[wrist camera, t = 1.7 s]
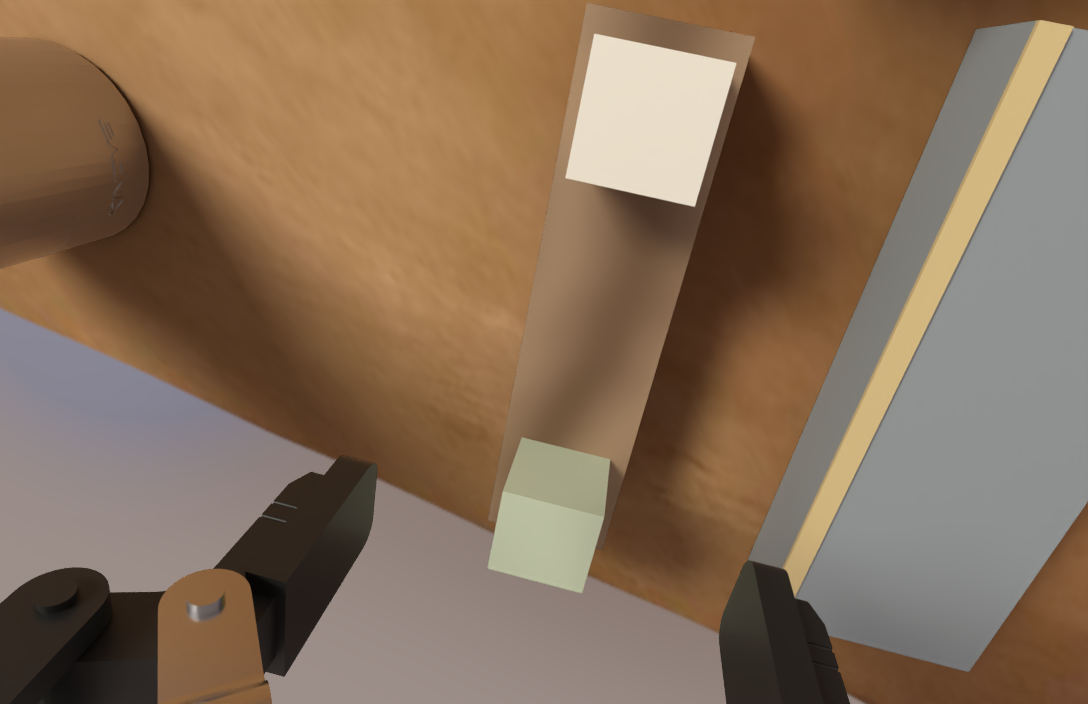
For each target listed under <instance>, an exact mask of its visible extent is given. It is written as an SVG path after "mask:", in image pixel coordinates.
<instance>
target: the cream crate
mask: <svg viewBox="0 0 1088 704" xmlns="http://www.w3.org/2000/svg"><path fill="white" fill-rule="evenodd" d="M736 64H737V63H734V62H729V61H725V60H720V59H715V58H710V57H705V56H700V55H696V54H691V53H686V52H681V51H676V50H671V49H667V48H662V47H657V46H652V45H647V44H642V43H638V42H633V41H628V40H623V39H618V38H613V37H609V36H604V35H599V34H594V37H593V42H592V47H591V52H590V57H589V62H588V67H587V72H586V77H585V82H584V87H583V92H582V97H581V102H580V107H579V112H578V117H577V122H576V127H575V132H574V137H573V142H572V147H571V152H570V157H569V162H568V167H567V172H566V177H565V178H567V179H572V180H576V181H581V182H585V183H590V184H594V185H599V186H603V187H608V188H612V189H617V190H621V191H626V192H630V193H635V194H639V195H644V196H648V197H653V198H657V199H662V200H666V201H671V202H675V203H680V204H684V205H689V206H693V207H695V204H696V201H697V197H698V194H699V191H700V187H701V184H702V180H703V177H704V173H705V170H706V167H707V163H708V160H709V156H710V153H711V149H712V146H713V142H714V139H715V136H716V132H717V129H718V125H719V122H720V118H721V115H722V112H723V108H724V105H725V101H726V98H727V94H728V91H729V88H730V84H731V81H732V77H733V74H734V70H735V67H736Z"/></svg>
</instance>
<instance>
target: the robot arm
mask: <svg viewBox="0 0 1088 704" xmlns="http://www.w3.org/2000/svg"><path fill="white" fill-rule="evenodd" d="M148 186H149V162H148V156H147V150H146V145H145V142H144V139H143V136H142V133H141V130H140V127H139V125H138V122H137V120H136V118H135V117H134V115H133V113H132V111H131V109H130V107H129V105H128V104H127V102H126V100H125V99H124V98H123V96H122V95H121V94H120V92H119V91H118V90H117V88H116V87H115V86H114V84H113V83H112V82H111V81H110V80H109V79H108V78H107V77H106V76H105V75H104V74H103V73H102V72H101V71H100V70H99V69H98V68H97V67H96V66H95V65H93V64H92V63H90V62H89V61H88V60H86V59H85V58H83V57H82V56H80V55H79V54H77V53H76V52H74V51H72V50H70V49H68V48H65V47H63V46H61V45H59V44H56V43H53V42H48V41H43V40H39V39H30V38H14V37H0V269H2V268H5V267H8V266H12V265H15V264H19V263H22V262H25V261H29V260H32V259H35V258H40V257H43V256H46V255H50V254H53V253H57V252H60V251H63V250H67V249H70V248H73V247H77V246H80V245H83V244H87V243H90V242H94V241H97V240H100V239H104V238H107V237H110V236H113V235H115V234H117V233H119V232H120V231H122V230H124V229H126V228H127V227H128V226H129V225H130V224H131V223H132V222H133V221H134V220H135V219H136V218H137V216H138V214H139V212H140V210H141V208H142V206H143V205H144V203H145V198H146V194H147V190H148ZM376 479H377V465H376V464H375V463H372V462H368V461H364V460H360V459H357V458H353V457H349V456H345V455H342V456H340V457H339V458H338V459H337V460H336V461H335V463H334V464H333V465H332V466H331V468H330V469H329V470H328V471H327V472H326V474H325V475H321V474H317V473H313V472H310V473H308V474H306V475H304V476H302V477H301V478H299V479H297V480H295V481H293V482H291V483H290V484H288V485H287V487H286V488H285V489H284V490H283V491H282V492H281V493H280V495H279V496H278V497H277V498H276V499H275V500H274V503H273V504H271V505H270V506H269V507H268V508H267V509H266V510H265V511H264V512H263V514H262V517H259V518H258V519H257V520H256V521H255V523H254V524H253V525H252V526H251V527H250V528H249V529H248V530H247V532H246V533H245V534H244V535H243V536H242V537H241V538H240V540H239V541H238V542H237V543H236V544H235V545H234V546H233V547H232V548H231V550H230V551H229V552H228V553H227V554H226V555H225V556H224V557H223V559H222V560H221V561H220V562H219V563H218V564H217V565H216V566H215V567H214V568H213V569H208V570H202V571H198V572H195V573H192V574H190V575H187V576H185V577H183V578H182V579H180V580H178V581H177V582H175V583H174V584H173V585H172V586H171V587H170V588H168V589H167V591H163V592H126V593H125V592H121V593H120V592H119V593H118V592H117V593H110V590H109V584H108V581H107V579H106V578H105V577H104V576H103V575H102V574H101V573H99V572H97V571H95V570H92V569H88V568H64V569H60V570H55V571H51V572H48V573H45V574H43V575H40V576H38V577H36V578H34V579H32V580H30V581H28V582H27V583H25V584H23V585H22V586H20V587H19V588H18V589H17V590H15V591H14V592H13V593H12V594H11V595H9V596H8V598H6V599H5V600H4V601H3V602H2V603H0V704H272V700H271V694H270V689H269V684H268V681H267V680H266V681H265V679H264V674H265V672H269V673H273V674H277V675H280V676H283V677H284V676H285V675H286V673H287V672H288V670H289V668H290V667H291V665H292V663H293V662H294V660H295V659H296V657H297V655H298V654H299V652H300V650H301V649H302V647H303V645H304V644H305V642H306V641H307V639H308V637H309V636H310V634H311V632H312V631H313V629H314V628H315V626H316V624H317V623H318V621H319V619H320V618H321V616H322V614H323V613H324V611H325V609H326V608H327V606H328V605H329V603H330V601H331V600H332V598H333V596H334V595H335V593H336V592H337V590H338V588H339V587H340V585H341V583H342V582H343V580H344V578H345V577H346V575H347V573H348V572H349V570H350V569H351V567H352V565H353V563H354V562H355V561H356V559H357V557H358V555H359V554H360V552H361V550H362V549H363V547H364V545H365V543H366V541H367V539H368V536H369V533H370V529H371V526H372V521H373V512H374V500H375V490H376ZM719 645H720V653H721V662H722V670H723V679H724V687H725V695H726V703H727V704H850V702H849V699H848V696H847V693H846V690H845V686H844V683H843V680H842V677H841V674H840V672H838V668H839V667H838V664H837V661H836V658H835V655H834V653H833V652H832V645H831V642H830V639H829V636H828V633H827V630H826V626H825V624H824V623H823V621H822V620H821V619H820V617H819V616H818V614H817V613H816V612H815V610H814V609H813V608H812V606H811V605H810V603H809V602H808V601H804V600H800V599H796V598H795V597H794V593H793V590H792V586H791V583H790V579H789V575H788V573H787V571H786V570H785V569H782V568H778V567H774V566H770V565H766V564H762V563H759V562H755V561H751V560H748V561H746V563H745V564H744V566H743V568H742V570H741V572H740V575H739V577H738V579H737V582H736V584H735V586H734V589H733V591H732V593H731V596H730V598H729V600H728V603H727V605H726V607H725V610H724V612H723V616H722V619H721V624H720V632H719Z"/></svg>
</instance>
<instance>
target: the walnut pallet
mask: <svg viewBox="0 0 1088 704" xmlns="http://www.w3.org/2000/svg"><path fill="white" fill-rule="evenodd" d="M594 34H599V35H604V36H609V37H613V38H618V39H623V40H628V41H633V42H638V43H642V44H647V45H652V46H657V47H662V48H667V49H671V50H676V51H681V52H686V53H691V54H696V55H700V56H705V57H710V58H715V59H720V60H725V61H729V62H734V63H737V64H736V67H735V70H734V74H733V77H732V81H731V84H730V88H729V91H728V94H727V98H726V101H725V105H724V108H723V112H722V115H721V118H720V122H719V125H718V129H717V132H716V136H715V139H714V142H713V146H712V149H711V153H710V156H709V160H708V163H707V167H706V170H705V173H704V177H703V180H702V184H701V187H700V191H699V194H698V197H697V201H696V204H695V207H693V206H689V205H684V204H680V203H675V202H671V201H666V200H662V199H657V198H653V197H648V196H644V195H639V194H635V193H630V192H626V191H621V190H617V189H612V188H608V187H603V186H599V185H594V184H590V183H585V182H581V181H576V180H572V179H567V178H565V177H566V172H567V167H568V162H569V157H570V152H571V147H572V142H573V137H574V132H575V127H576V122H577V117H578V112H579V107H580V102H581V97H582V92H583V87H584V82H585V77H586V72H587V67H588V62H589V57H590V52H591V47H592V42H593V37H594ZM754 40H755V37H752V36H747V35H743V34H738V33H733V32H728V31H723V30H718V29H713V28H708V27H703V26H698V25H694V24H689V23H684V22H679V21H674V20H669V19H664V18H659V17H654V16H649V15H644V14H640V13H635V12H630V11H625V10H620V9H615V8H610V7H605V6H600V5H595V4H591V3H587V5H586V10H585V15H584V21H583V26H582V31H581V36H580V41H579V47H578V52H577V57H576V62H575V67H574V73H573V78H572V83H571V88H570V94H569V99H568V104H567V109H566V114H565V120H564V125H563V130H562V135H561V140H560V146H559V151H558V156H557V161H556V167H555V172H554V177H553V182H552V187H551V193H550V198H549V203H548V208H547V213H546V219H545V224H544V229H543V234H542V239H541V245H540V250H539V255H538V260H537V266H536V271H535V276H534V281H533V286H532V292H531V297H530V302H529V307H528V312H527V318H526V323H525V328H524V333H523V339H522V344H521V349H520V354H519V359H518V365H517V370H516V375H515V380H514V385H513V391H512V396H511V401H510V406H509V412H508V417H507V422H506V427H505V432H504V438H503V443H502V448H501V453H500V458H499V464H498V469H497V474H496V479H495V485H494V490H493V495H492V500H491V505H490V511H489V516H488V521H492V522H495V523H497V518H498V513H499V508H500V503H501V498H502V493H503V489H504V486H505V484H506V481H507V478H508V475H509V472H510V469H511V467H512V464H513V461H514V458H515V455H516V453H517V450H518V447H519V444H520V441H521V438H522V437H523V438H527V439H531V440H535V441H539V442H543V443H547V444H551V445H555V446H559V447H563V448H567V449H571V450H575V451H579V452H583V453H587V454H591V455H595V456H599V457H603V458H607V459H610V466H609V476H608V486H607V496H606V505H605V515H604V520H603V523H602V527H601V530H600V534H599V537H598V540H597V544H596V547H595V548H596V549H600V550H603V546H604V543H605V539H606V536H607V533H608V529H609V526H610V523H611V519H612V516H613V513H614V509H615V506H616V503H617V499H618V496H619V493H620V489H621V486H622V482H623V479H624V476H625V472H626V469H627V466H628V462H629V459H630V456H631V452H632V449H633V446H634V442H635V439H636V436H637V432H638V429H639V425H640V422H641V419H642V415H643V412H644V409H645V405H646V402H647V399H648V395H649V392H650V389H651V385H652V382H653V379H654V375H655V372H656V368H657V365H658V362H659V358H660V355H661V352H662V348H663V345H664V342H665V338H666V335H667V332H668V328H669V325H670V322H671V318H672V315H673V311H674V308H675V305H676V301H677V298H678V295H679V291H680V288H681V285H682V281H683V278H684V275H685V271H686V268H687V265H688V261H689V258H690V254H691V251H692V248H693V244H694V241H695V238H696V234H697V231H698V228H699V224H700V221H701V218H702V214H703V211H704V208H705V204H706V201H707V197H708V194H709V191H710V187H711V184H712V181H713V177H714V174H715V171H716V167H717V164H718V161H719V157H720V154H721V151H722V147H723V144H724V141H725V137H726V134H727V130H728V127H729V124H730V120H731V117H732V114H733V110H734V107H735V104H736V100H737V97H738V94H739V90H740V87H741V84H742V80H743V77H744V73H745V70H746V67H747V63H748V60H749V57H750V53H751V50H752V47H753V43H754Z"/></svg>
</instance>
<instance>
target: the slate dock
mask: <svg viewBox="0 0 1088 704" xmlns="http://www.w3.org/2000/svg"><path fill="white" fill-rule="evenodd" d="M1073 27H1074V26H1068V25H1063V24H1058V23H1053V22H1048V21H1043V20H1037V21H1030V22H1023V23H1016V24H1009V25H1003V26H996V27H989V28H982V29H976V31H975V33H974V35H973V38H972V40H971V42H970V45H969V47H968V49H967V52H966V54H965V56H964V59H963V61H962V63H961V66H960V68H959V70H958V73H957V75H956V77H955V80H954V82H953V84H952V86H951V89H950V91H949V93H948V96H947V98H946V100H945V103H944V105H943V107H942V110H941V112H940V114H939V117H938V119H937V121H936V124H935V126H934V128H933V131H932V133H931V135H930V138H929V140H928V142H927V145H926V147H925V149H924V152H923V154H922V156H921V158H920V161H919V163H918V165H917V168H916V170H915V172H914V175H913V177H912V179H911V182H910V184H909V186H908V189H907V191H906V193H905V196H904V198H903V200H902V203H901V205H900V207H899V210H898V212H897V214H896V217H895V219H894V221H893V224H892V226H891V228H890V230H889V233H888V235H887V237H886V240H885V242H884V244H883V247H882V249H881V251H880V254H879V256H878V258H877V261H876V263H875V265H874V268H873V270H872V272H871V275H870V277H869V279H868V282H867V284H866V286H865V289H864V291H863V293H862V296H861V298H860V300H859V302H858V305H857V307H856V309H855V312H854V314H853V316H852V319H851V321H850V323H849V326H848V328H847V330H846V333H845V335H844V337H843V340H842V342H841V344H840V347H839V349H838V351H837V354H836V356H835V358H834V361H833V363H832V365H831V368H830V370H829V372H828V374H827V377H826V379H825V381H824V384H823V386H822V388H821V391H820V393H819V395H818V398H817V400H816V402H815V405H814V407H813V409H812V412H811V414H810V416H809V419H808V421H807V423H806V426H805V428H804V430H803V433H802V435H801V437H800V440H799V442H798V444H797V446H796V449H795V451H794V453H793V456H792V458H791V460H790V463H789V465H788V467H787V470H786V472H785V474H784V477H783V479H782V481H781V484H780V486H779V488H778V491H777V493H776V495H775V498H774V500H773V502H772V505H771V507H770V509H769V512H768V514H767V516H766V518H765V521H764V523H763V525H762V528H761V530H760V532H759V535H758V537H757V539H756V542H755V544H754V546H753V549H752V551H751V553H750V556H749V558H748V560H751V561H755V562H759V563H762V564H766V565H770V566H774V567H778V568H782V569H785V570H786V571H787V573H788V575H789V579H790V583H791V586H792V590H793V593H794V597H795V598H796V599H800V600H804V601H808V602H809V603H810V605H811V606H812V608H813V609H814V610H815V612H816V613H817V614H818V616H819V617H820V619H821V620H822V621H823V623H824V624H825V626H826V630H827V633H828V636H832V637H836V638H840V639H843V640H847V641H851V642H855V643H859V644H863V645H866V646H870V647H874V648H878V649H882V650H886V651H889V652H893V653H897V654H901V655H905V656H909V657H912V658H916V659H920V660H924V661H928V662H932V663H935V664H939V665H943V666H947V667H951V668H955V669H958V670H962V671H966V672H969V671H970V670H971V668H972V667H973V665H974V664H975V662H976V661H977V660H978V658H979V657H980V655H981V654H982V652H983V651H984V650H985V648H986V647H987V645H988V644H989V642H990V641H991V640H992V638H993V637H994V635H995V634H996V632H997V631H998V630H999V628H1000V627H1001V625H1002V624H1003V622H1004V621H1005V619H1006V618H1007V617H1008V615H1009V614H1010V612H1011V611H1012V609H1013V608H1014V607H1015V605H1016V604H1017V602H1018V601H1019V599H1020V598H1021V597H1022V595H1023V594H1024V592H1025V591H1026V589H1027V588H1028V587H1029V585H1030V584H1031V582H1032V581H1033V579H1034V578H1035V576H1036V575H1037V574H1038V572H1039V571H1040V569H1041V568H1042V566H1043V565H1044V564H1045V562H1046V561H1047V559H1048V558H1049V556H1050V555H1051V554H1052V552H1053V551H1054V549H1055V548H1056V546H1057V545H1058V544H1059V542H1060V541H1061V539H1062V538H1063V536H1064V535H1065V533H1066V532H1067V531H1068V529H1069V528H1070V526H1071V525H1072V523H1073V522H1074V521H1075V519H1076V518H1077V516H1078V515H1079V513H1080V512H1081V511H1082V509H1083V508H1084V506H1085V505H1086V503H1087V502H1088V30H1082V29H1077V28H1073Z"/></svg>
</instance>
